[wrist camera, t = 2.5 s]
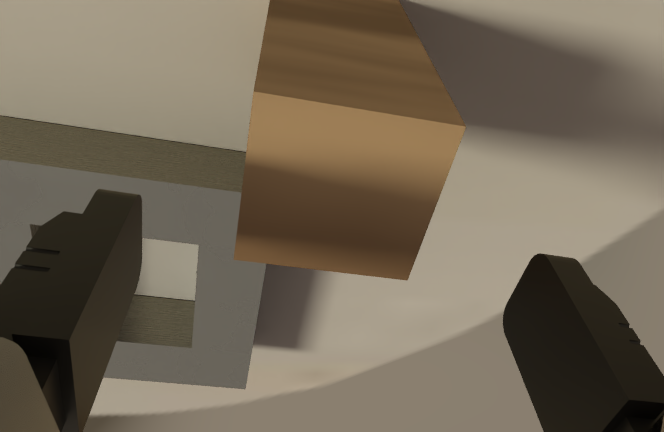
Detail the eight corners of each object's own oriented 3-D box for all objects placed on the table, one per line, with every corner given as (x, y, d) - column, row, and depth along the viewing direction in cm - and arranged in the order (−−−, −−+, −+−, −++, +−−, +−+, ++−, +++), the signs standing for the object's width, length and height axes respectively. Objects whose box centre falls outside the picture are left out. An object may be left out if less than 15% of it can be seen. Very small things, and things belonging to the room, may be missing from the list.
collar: (-25, 112, 21) (-67, 150, 19) (280, 157, 23) (277, 197, 20) (19, 320, 28) (-8, 368, 25) (250, 342, 30) (245, 389, 27)
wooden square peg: (274, -27, 18) (253, 91, 10) (397, -2, 19) (466, 126, 11) (259, 91, 21) (233, 259, 13) (368, 109, 22) (407, 280, 14)
